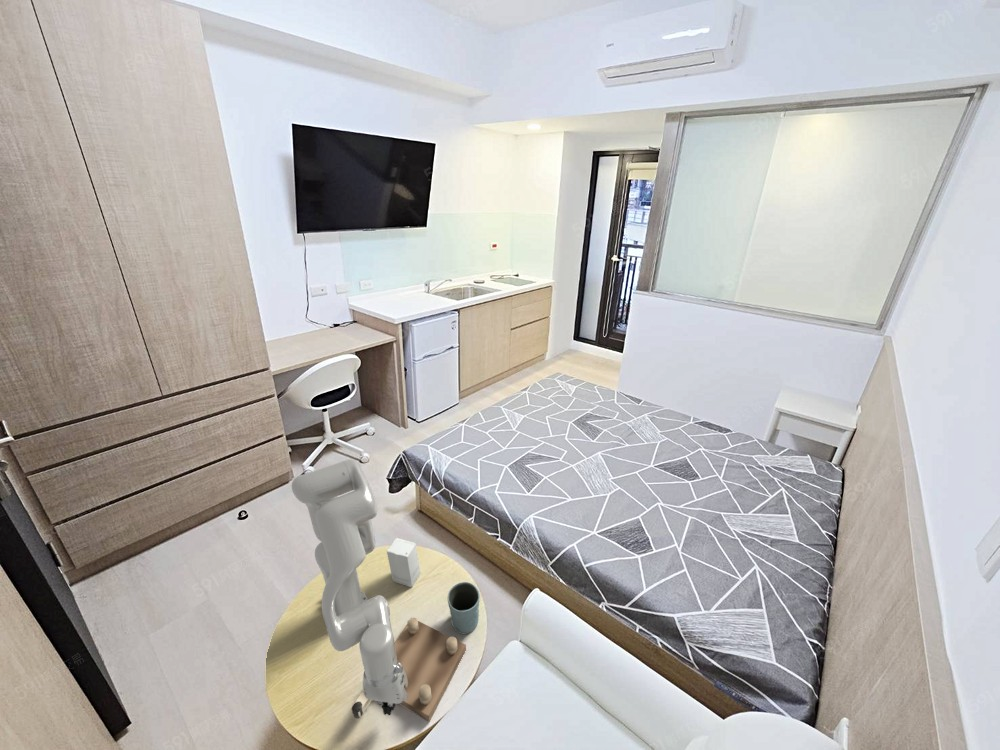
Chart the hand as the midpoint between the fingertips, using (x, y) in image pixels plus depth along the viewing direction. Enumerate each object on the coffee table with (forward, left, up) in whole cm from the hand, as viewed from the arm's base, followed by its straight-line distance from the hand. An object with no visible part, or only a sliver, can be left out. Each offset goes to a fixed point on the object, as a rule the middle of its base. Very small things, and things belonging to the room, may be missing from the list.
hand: (389, 708), depth 105 cm
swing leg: (-8, +2, -2) cm, 8 cm away
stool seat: (0, +14, -5) cm, 15 cm away
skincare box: (-22, +37, -6) cm, 43 cm away
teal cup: (+5, +32, -6) cm, 32 cm away
